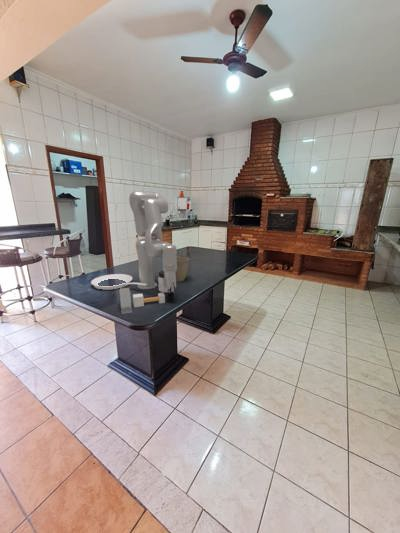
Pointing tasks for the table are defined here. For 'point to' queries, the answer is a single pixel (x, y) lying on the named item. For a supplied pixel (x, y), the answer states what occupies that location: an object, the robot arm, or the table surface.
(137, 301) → the block ended dumbbell
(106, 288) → the pan
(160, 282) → the jar
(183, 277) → the plant pot
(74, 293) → the table surface
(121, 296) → the block
